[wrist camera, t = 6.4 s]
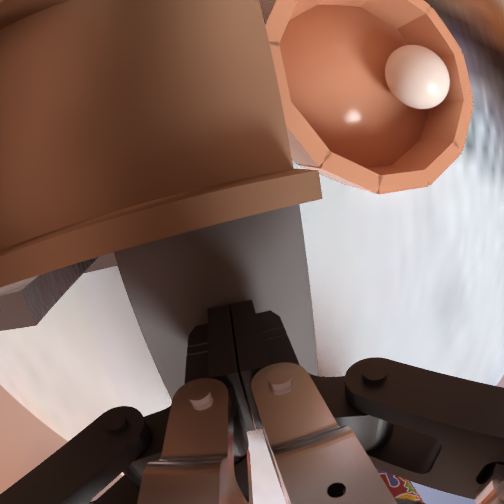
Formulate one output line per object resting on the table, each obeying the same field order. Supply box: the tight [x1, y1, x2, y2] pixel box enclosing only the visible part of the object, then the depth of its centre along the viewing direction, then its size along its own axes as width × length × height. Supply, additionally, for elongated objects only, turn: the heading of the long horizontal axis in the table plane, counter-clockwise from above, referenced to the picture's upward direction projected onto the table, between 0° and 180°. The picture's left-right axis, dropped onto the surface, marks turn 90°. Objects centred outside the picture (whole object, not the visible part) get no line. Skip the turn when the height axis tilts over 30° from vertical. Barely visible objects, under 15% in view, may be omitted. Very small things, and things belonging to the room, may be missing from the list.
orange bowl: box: [265, 0, 473, 194], centre depth 12 cm, size 11×11×4 cm
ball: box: [385, 45, 450, 109], centre depth 12 cm, size 4×4×4 cm
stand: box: [0, 252, 118, 331], centre depth 9 cm, size 6×14×8 cm, turn 10°
